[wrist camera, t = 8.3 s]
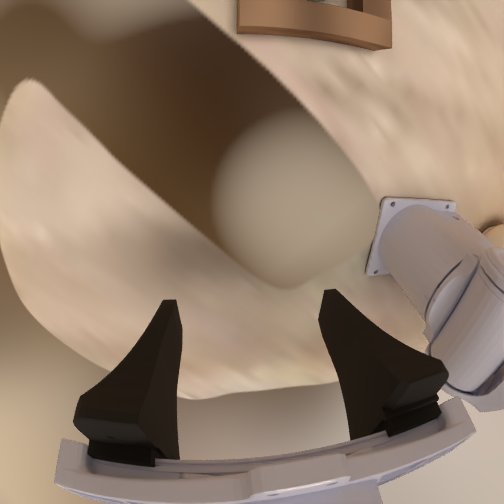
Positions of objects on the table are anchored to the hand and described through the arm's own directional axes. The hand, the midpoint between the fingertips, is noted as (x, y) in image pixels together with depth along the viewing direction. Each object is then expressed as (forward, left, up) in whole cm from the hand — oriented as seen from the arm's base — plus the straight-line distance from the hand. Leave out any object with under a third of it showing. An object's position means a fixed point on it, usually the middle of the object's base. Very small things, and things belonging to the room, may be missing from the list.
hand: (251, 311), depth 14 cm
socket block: (-5, -19, -10) cm, 22 cm away
